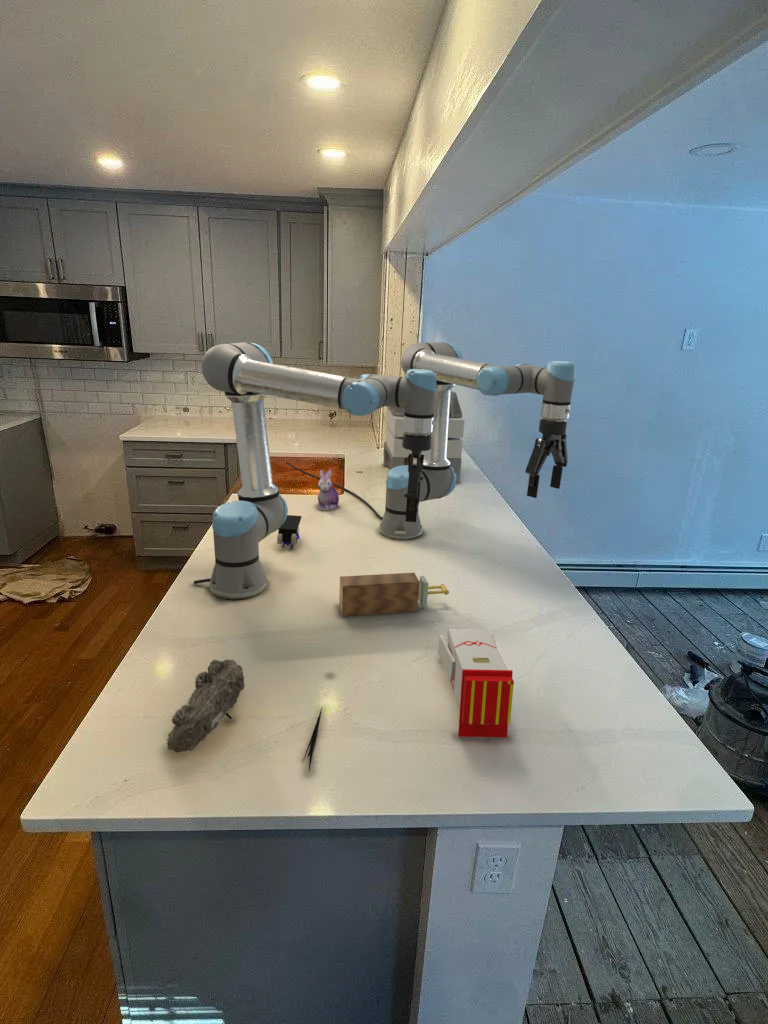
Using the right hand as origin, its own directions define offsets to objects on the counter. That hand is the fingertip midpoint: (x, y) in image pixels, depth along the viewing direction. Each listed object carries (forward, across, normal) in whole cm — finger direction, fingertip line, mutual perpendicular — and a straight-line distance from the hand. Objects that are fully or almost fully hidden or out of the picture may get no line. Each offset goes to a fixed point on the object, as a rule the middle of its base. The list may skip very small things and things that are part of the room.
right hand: (543, 492), depth 164 cm
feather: (+27, -89, -5) cm, 93 cm away
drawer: (+26, -45, +14) cm, 53 cm away
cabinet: (+27, -50, +17) cm, 59 cm away
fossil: (+27, -103, +10) cm, 107 cm away
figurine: (+27, -7, +86) cm, 90 cm away
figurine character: (+27, -40, +67) cm, 83 cm away
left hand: (+2, -38, +17) cm, 42 cm away
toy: (+27, -61, -20) cm, 69 cm away
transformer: (+27, +60, +95) cm, 115 cm away
